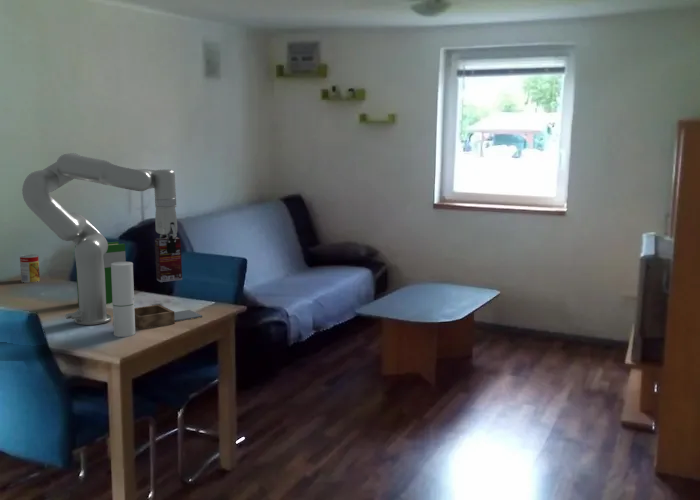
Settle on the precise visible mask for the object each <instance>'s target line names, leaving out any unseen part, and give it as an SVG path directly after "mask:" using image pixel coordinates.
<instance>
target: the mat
mask: <svg viewBox="0 0 700 500" xmlns="http://www.w3.org/2000/svg"><path fill="white" fill-rule="evenodd" d="M174 316H175V322H176V323H177V322H181V321H180V320H182V321H187V320H186V319H188V320H192V319H191V318H194V319H198V318H197V317H200V318H203V315H202V314H200V313H198V312H195V311H193V310H191V309H187V310H180V311H174Z"/></svg>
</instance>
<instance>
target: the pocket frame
mask: <svg viewBox="0 0 700 500" xmlns="http://www.w3.org/2000/svg"><path fill="white" fill-rule="evenodd" d="M134 309H135V329H138V330H144V329H151V328H156V327H162V326H167V325H174V324H176V323H175V316H174V312H175V311H173V310H171V309H170V308H167V307H166V306H163V305H161V304H155V305H154V304H152V305H147V306H140V307H134Z"/></svg>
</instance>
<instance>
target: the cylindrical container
mask: <svg viewBox="0 0 700 500" xmlns="http://www.w3.org/2000/svg"><path fill="white" fill-rule="evenodd" d="M111 278H112V302H113V303H112V317H113V319H112V321H113V336H114V337H119V338H121V337H122V338H125V337H132V336H134V335H135V334H136V327H135V309H134V308H135V290H134V289H135V286H134V284H135V283H134V282H135V281H134V263H133V262H132V261H126V262H114V263H111Z"/></svg>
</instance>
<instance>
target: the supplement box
mask: <svg viewBox="0 0 700 500" xmlns="http://www.w3.org/2000/svg"><path fill="white" fill-rule="evenodd" d="M167 243H168V242H167V238H160V237H159V238H154V249H155V251H154V252H155V271H156V281H158V282H160V283H163V282H164V283H165V282H174V281H183V267H182V266H183V264H182V246H181V245H182V241H181V238H180V237H178V236H176V242H175V244H176V253H169V254H168V253H167Z"/></svg>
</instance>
